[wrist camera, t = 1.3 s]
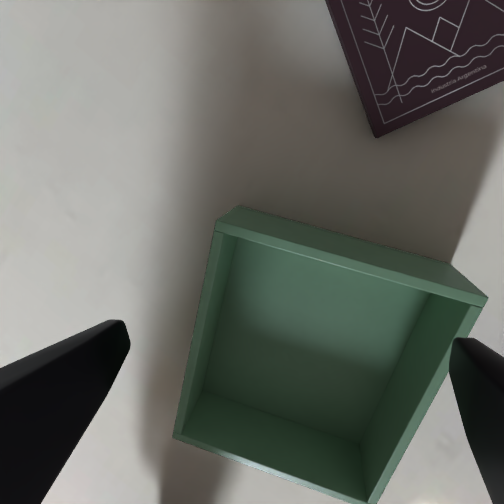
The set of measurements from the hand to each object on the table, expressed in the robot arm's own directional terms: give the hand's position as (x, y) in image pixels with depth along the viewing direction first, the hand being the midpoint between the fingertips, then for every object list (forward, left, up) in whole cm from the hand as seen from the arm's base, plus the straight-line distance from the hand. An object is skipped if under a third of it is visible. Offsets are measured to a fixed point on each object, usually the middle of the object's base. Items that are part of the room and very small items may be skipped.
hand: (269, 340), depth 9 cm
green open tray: (-8, -3, -14) cm, 16 cm away
